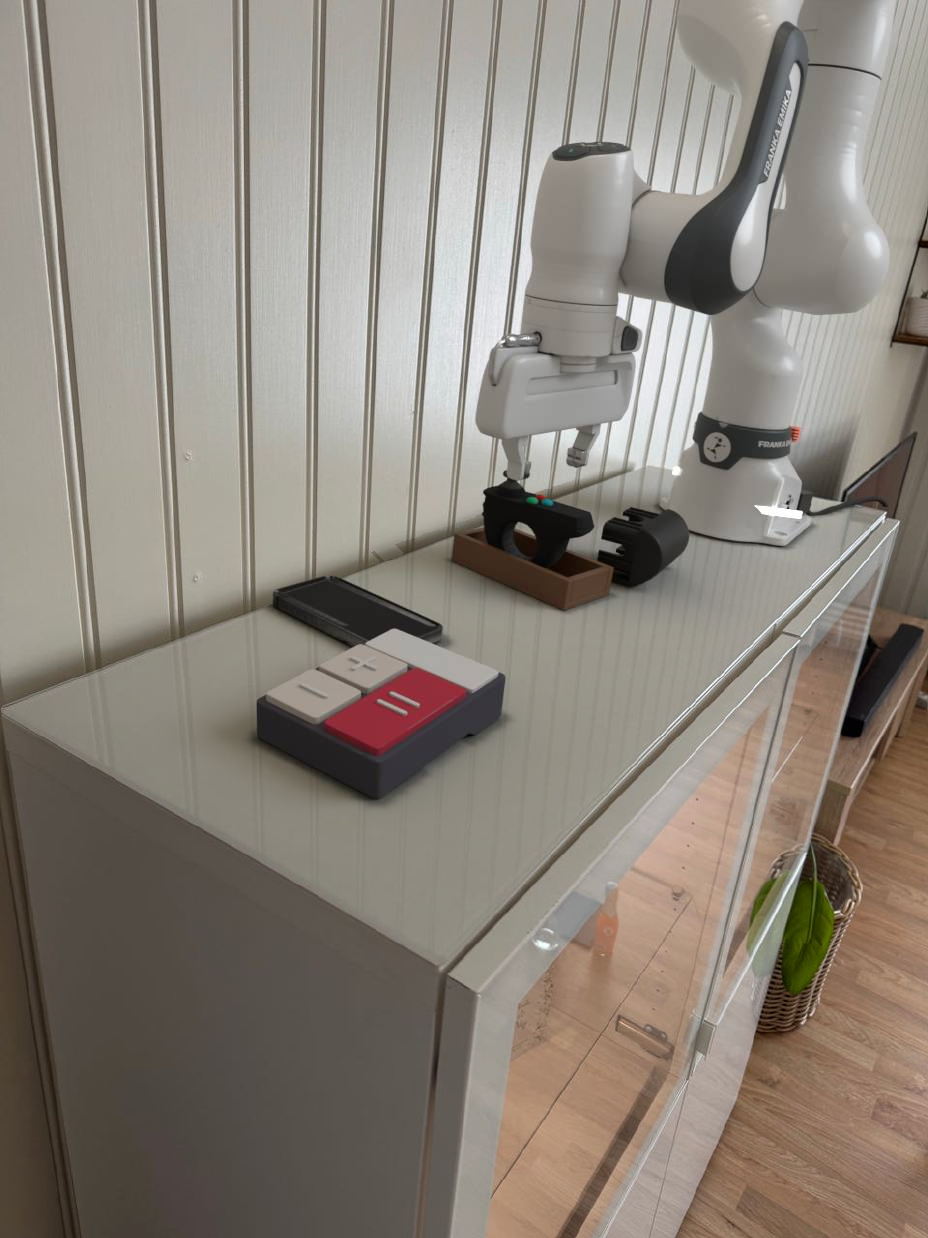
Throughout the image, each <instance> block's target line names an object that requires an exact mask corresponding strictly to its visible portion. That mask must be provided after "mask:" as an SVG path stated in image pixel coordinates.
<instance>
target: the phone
mask: <svg viewBox="0 0 928 1238" xmlns="http://www.w3.org/2000/svg"><path fill="white" fill-rule="evenodd" d="M272 606H273V607H275V608H276V609H279V610H281V611H282V612H284V613H287V614H289V615H291V616H292V617H294V618H295V619H297V620H300V621H302V622H304V623H305V624H308V625H310V626H312V627H314V628H316V629H318V630H320V631H322V632H324V633H325V634H328V635H329V636H332V637H334V638H336V639H338V640H339V641H341V642H343V643H345V644H347V645H349V646H351V647H352V648H353V647H354V646H356V645H359V644H364V643H366V642H368V641H370V640H372V639H374V638H376V637H378V636H380V635H382V634H383V633H385V632H387V631H389V630H391V629H398V630H400V631H403V632H405V633H408V634H410V635H412V636H415V637H417V638H420V639H422V640H425V641H427V642H430V643H432V644H434V645H435V644H437V643H439V642H441V641H442V638H443V630H444V628H443V625H442V624H441V623H440V622H438V621H435V620H433V619H431V618H429V617H427V616H425V615H423V614H420V613H418V612H416V611H414V610H412V609H410V608H408V607H405V606H403V605H401V604H398V603H396V602H394V601H392V600H389V599H388V598H385V597H383V596H381V595H378V594H376V593H374V592H372V591H370V590H368V589H365V588H363V587H361V586H359V585H357V584H354V583H352V582H350V581H348V580H345V579H343V578H342V577H339V576H335V575H322V576H319V577H315V578H312V579H309V580H305V581H300V582H297V583H294V584H290V585H287V586H282V587H279V588H276V589H274V590H273V592H272Z"/></svg>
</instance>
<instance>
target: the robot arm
mask: <svg viewBox="0 0 928 1238" xmlns="http://www.w3.org/2000/svg"><path fill="white" fill-rule="evenodd" d="M896 2H897V0H679V3H678V7H677V14H676V29H677V31H676V32H677V35H678V41H679V44H680V46H681V49H682V51H683V54H684V55H685V57H686V59H687V60H688V61H689V63H690V64H691V65H692V67H693V68H694V69H695V70H696V71H697V72H698V73H699V74H700V75H701V76H702V77H703V78H704V79H705V80H707V81H708V82H709V83H711V85H713V86H715V87H717V88H718V89H721V90H722V91H724V92H726V93H728V94H730V95H732V96H734V97H736V98H737V99H738V100H740V101H741V102H740V109H739V113H738V117H737V121H736V124H735V127H734V131H733V134H732V139H731V142H730V146H729V149H728V153H727V157H726V160H725V164H724V167H723V171H722V175H721V178H720V179H719V182H718V183H717V184H716V185H715V186H714V187H713V188H711V189H709V190H707V191H706V192H704V193H701V194H690V193H688V194H687V193H681V192H680V193H679V192H668V191H666V192H665V191H661V190H655V189H653V187H652V186H650V185H649V184H647V183H646V181H644V180H643V179H642V178H641V177H640V175H639V174H638V173H637V171H636V169H635V160H634V159H635V158H634V151H633V150H632V148H631V147H629V146H627V145H625V144H623V143H619V142H611V141H593V142H585V141H584V142H582V141H581V142H573V143H568V144H563V145H561V146H559V147H557V148H556V149H554V150H553V151H551V153H550V154H549V155H548V158H547V159H546V162H545V164H544V167H543V170H542V172H541V177H540V181H539V185H538V189H537V194H536V200H535V204H534V211H533V219H532V225H531V234H530V253H531V271H530V275H529V279H528V281H527V283H526V285H525V290H524V297H523V305H522V313H521V322H520V330H519V334H516V333H507V334H504V335H503V336H502V337H501V338H500V340H499V341H498V342H496V344H495V346H493V347H492V348H491V349H490V351H489V356H488V361H487V362H486V365H485V368H484V371H483V375H482V379H481V382H480V386H479V387H480V388H479V393H478V399H477V403H476V410H475V419H474V422H475V425H476V428H477V429H478V431H479V433H480V434H482V435H485V436H488V437H491V438H495V439H497V440H500V441H501V446H502V449H503V452H504V455H505V456H506V457H505V458H506V460H507V467H506V470H507V476H508V477H509V478H510V479H513V480H516V481H517V482H519V481H523V480H526V479H529V478H530V477H531V468H532V461H529V460H527V459H526V456H525V454H526V453H525V449H524V448H527V447H528V442H529V437H530V436H537V435H543V434H548V433H554V432H560V431H566V430H571V429H572V430H573V429H575V430H576V431H577V434H576V437H575V439H574V441H573V445H572V446H571V447H568V448H567V452H566V455H567V456H566V459H565V462H566V465H567V466H568V467H573V468H576V469H577V468H583V467H587V466H588V464H589V458H590V452H591V450H592V449H593V446H594V445H595V443H596V441H597V439H598V437H599V436H600V433H601V426H602V424H609V423H614V422H619V421H621V420H622V419H623V418H624V417H625V414H626V413H627V411H628V409H629V406H630V402H631V398H632V393H633V388H634V381H635V375H636V368H637V366H636V365H637V362H636V361H637V360H636V357H635V354H634V353H636V352H638V351H639V350H640V349H641V347H642V341H643V331H642V329H640V328H639V327H637V326H635V325H633V324H632V323H630V322H628V321H627V320H625V319H624V318H623V317H621V316H619V315H617V314H618V313H617V312H618V307H619V294H624V295H628V296H634V297H636V298H638V299H644V300H651V301H655V302H662V303H667V304H671V305H672V304H673V305H675V306H677V307H680V308H683V309H687V310H690V311H693V312H697V313H700V314H704V315H707V316H709V322H710V327H711V338H712V339H711V340H712V341H711V342H712V347H711V348H712V350H711V361H710V365H709V366H710V368H709V372H708V379H707V385H706V389H705V394H704V398H703V399H704V400H703V405H702V409H701V411H700V412H698V413H697V418H696V421H695V422H694V425H693V434H692V439H691V440H692V441H693V443H692V444H691V445H690V446H689V447H687V448H686V449H684V450H683V451H682V453H681V455H680V458H679V461H678V464H677V466H673V469H672V475H674V478H673V481H672V484H671V488H670V492H669V495H668V497H662V498H661V499H660V502H659V507H660V508H661V509H663V510H664V511H665V510H667V509H670V510H673V511H675V512H676V513H678V514H679V515H680V516H681V517H682V518H683V519H684V521H685V522H686V524H687V527H688V530H689V531H691V532H694V533H696V534H701V535H705V536H709V537H712V538H717V539H722V540H727V541H734V542H746V543H760V544H765V545H772V546H780V547H784V546H787V545H788V544H789V543H790V542H792V541H793V540H794V539H796V537H798V536H799V535H800V534H801V533H803V532H804V531H805V530H806V529H807V528H809V527H810V526H811V525H812V519H813V518H812V517H816V516H824V515H827V514H828V513H832V512H834V511H839V510H841V509H844V508H846V507H850V506H852V507H853V506H857V505H861V504H865V503H870V502H877V503H880V505H881V506H882V507H884V508H889V504H888V501H886V500H885V499H884V498H882V497H880V496H866V497H862V498H858V499H853V500H846V501H844V502H841V503H839V504H836V505H831V506H829V507H826V508H823V509H821V510H819V511H816V512H815V511H814V512H813V511H811V507H812V501H813V497H814V492H812V491H810V490H806V489H803V482H802V479H801V478H800V477H799V475H798V473H797V471H796V470H795V468H794V466H793V464H792V462H791V460H790V459H789V455H790V454H791V446H792V443H797V442H798V441H799V439H800V437H801V436H802V435H801V434H802V428H801V427H800V426H793V425H791V421H792V417H793V414H794V409H795V406H796V403H797V402H796V401H797V398H798V394H799V391H800V386H801V383H802V378H803V374H804V371H803V370H804V367H803V361H802V359H801V356H800V354H799V353H798V352H797V350H795V348H794V347H793V346H791V344H790V343H789V342H788V340H787V338H786V336H785V333H784V329H783V324H782V310H785V311H790V312H797V313H802V314H808V315H813V316H829V315H831V316H832V315H833V316H834V315H844V314H853V313H857V312H860V311H861V310H862V309H864V308H866V306H868V305H869V304H870V303H871V302H872V301H873V300H874V299H875V298H876V296H877V295H878V294H879V293H880V291H881V290H882V287H883V285H884V284H885V281H886V279H887V276H888V273H889V269H890V263H891V251H890V246H889V241H888V239H887V237H886V234H885V232H884V231H883V229H882V228H881V227H880V225H879V224H878V223H877V222H876V219H874V216H873V215H872V213H871V211H870V210H871V209H870V208H869V206H868V202H867V199H866V193H865V187H864V174H863V167H864V156H865V149H866V144H867V139H868V134H869V131H870V126H871V123H872V117H873V115H874V110H875V106H876V103H877V99H878V94H879V90H880V87H881V83H882V80H883V75H884V72H885V68H886V64H887V60H888V56H889V51H890V45H891V40H892V33H893V28H894V22H895V21H894V20H895V13H896V5H897V3H896ZM782 177H783V179H784V184H785V185H784V186H785V202H784V207H783V208H774V206H775V203H776V199H777V196H778V195H777V194H778V191H779V188H780V185H781V180H782Z"/></svg>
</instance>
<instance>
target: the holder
mask: <svg viewBox="0 0 928 1238" xmlns="http://www.w3.org/2000/svg"><path fill="white" fill-rule="evenodd" d="M514 541H515V544H516V546H517V548H518V550H519V551H520V552H521V553H522V554H524V555H525V556H528V557H534V555H535V553H536V550H537V540H536V537H535V535H534V534H530V533H528V532H525V531H523V530H520V529H517V528H515V529H514ZM451 551H452V552H451V561H452V562H455V563H456V564H459V565H461V566H463V567H466V568H468V569H470V570H472V571H475V572H477V573H479V574H482V575H484V576H485V577H488V578H490V579H493V580H495V581H497V582H499V583H501V584H504V585H505V586H508V587H510V588H513V589H514V590H516V591H519V592H522V593H524V594H526V595H528V596H530V597H533V598H534V599H537V600H539V601H542V602H544V603H546V604H548V605H551V606H553V607H555V608H557V609H558V610H559V609H560V610H562V611H566V610H569V609H572V608H576V607H578V606H581V605H584V604H587V603H589V602H592V601H595V600H599V599H601V598H604V597H607V596H609V594H610V589H611V584H612V582H611V580H612V574H613V569H614V567H611V566H609V565H606V564H604V563H601V562H599V561H597V559H594V558H591V557H588V556H587V555H583V554H581V553H579V552H576V551H573V550H570V549H568V548H567V549H566V551H565V553H564V554H563V556H562V557H561V558H560V559H559V560H558V561H557V562H556V563H555V564H553V565H552V566H550V567H548V568H543V567H541V566H539V565H536V564H534V563H531V562H529V561H527V560H524V559H522V558H519V557H517V556H515V555H512V554H510V553H507V552H505V551H503V550H500V549H498V548H496V547H493V546H491V545H488V543H487V540H486V537H485V531H484V526H483V527H482V526H481V527H478V528H474V529H473V528H472V529H469V530H464V531H461V532H455V533H454V535H453V543H452V550H451Z"/></svg>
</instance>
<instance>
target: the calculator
mask: <svg viewBox="0 0 928 1238" xmlns="http://www.w3.org/2000/svg"><path fill="white" fill-rule="evenodd" d="M506 677H507V676H506V675H505V674H504V673H502V672H500V671H499V670H497V669H495V668H493V667H490V666H488V665H485V664H484V663H480V662H478V661H475V660H474V659H471V658H469V657H465V656H463V655H461V654H458V653H456V652H454V651H451V650H449V649H447V648H444V647H441V646H439V645H436V644H435V643H434V644H432V643H430V642H427V641H425V640H422V639H420V638H417V637H415V636H412V635H410V634H408V633H405V632H403V631H400V630H398V629H391V630H389V631H387V632H385V633H383V634H382V635H380V636H378V637H376V638H374V639H372V640H370V641H368V642H366V643H364V644H359V645H356V646H354V647H353V646H352V647H350V648H349V649H347V650H345V651H343V652H341V653H339V654H337V655H335V656H333V657H332V658H329V659H328V660H326V661H324V662H322V663H320V664H319V665H318V667H316V668H310V669H308V670H306V671H304V672H302V673H301V674H299V675H297V676H295V677H293V678H291V679H288V680H287V681H285V682H283V683H281V684H279V685H277V686H275V687H273V688H271V689H269V690H268V691H266V692H265V695H262V696H260V697H259V698H257V699H256V736H257V737H258V738H259V739H260V740H262V741H263V742H267V743H268V744H270V745H271V746H273V747H275V748H277V749H279V750H281V751H282V752H285V753H287V754H289V755H290V756H292V757H294V758H296V759H297V760H300V761H301V762H303V763H306V764H308V765H309V766H311V767H313V768H315V769H316V770H318V771H320V772H322V773H324V774H326V775H328V776H330V777H331V778H334V779H335V780H338V781H339V782H341V783H343V784H344V785H347V786H349V787H351V788H352V789H354V790H356V791H358V792H360V793H361V794H364V795H365V796H367V797H369V798H372V799H377V800H378V799H380V798H382V797H384V796H385V795H386V794H388V793H389V792H391V791H392V790H393V789H395V788H396V787H397V786H399V785H400V784H401V783H402V782H405V780H407V779H409V778H410V777H411V776H413V775H414V774H415V773H417V772H418V771H419V770H421V769H422V768H423V767H425V766H426V765H428V764H429V763H431V762H432V761H433V760H435V758H437V757H438V756H440V755H441V754H442V753H444V752H445V751H447V750H448V749H450V748H451V747H453V746H454V745H455V744H456V743H458V742H459V741H461V740H462V739H463V738H465V737H466V736H467V735H473V736H475V735H478V734H479V733H480V732H482V731H483V730H485V729H486V728H487V727H488V726H489V725H491V724H492V723H494V722H495V721H496V720H498V719H499V718H500V717H501V716H502V711H503V704H504V697H505V696H504V694H505V687H506Z"/></svg>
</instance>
